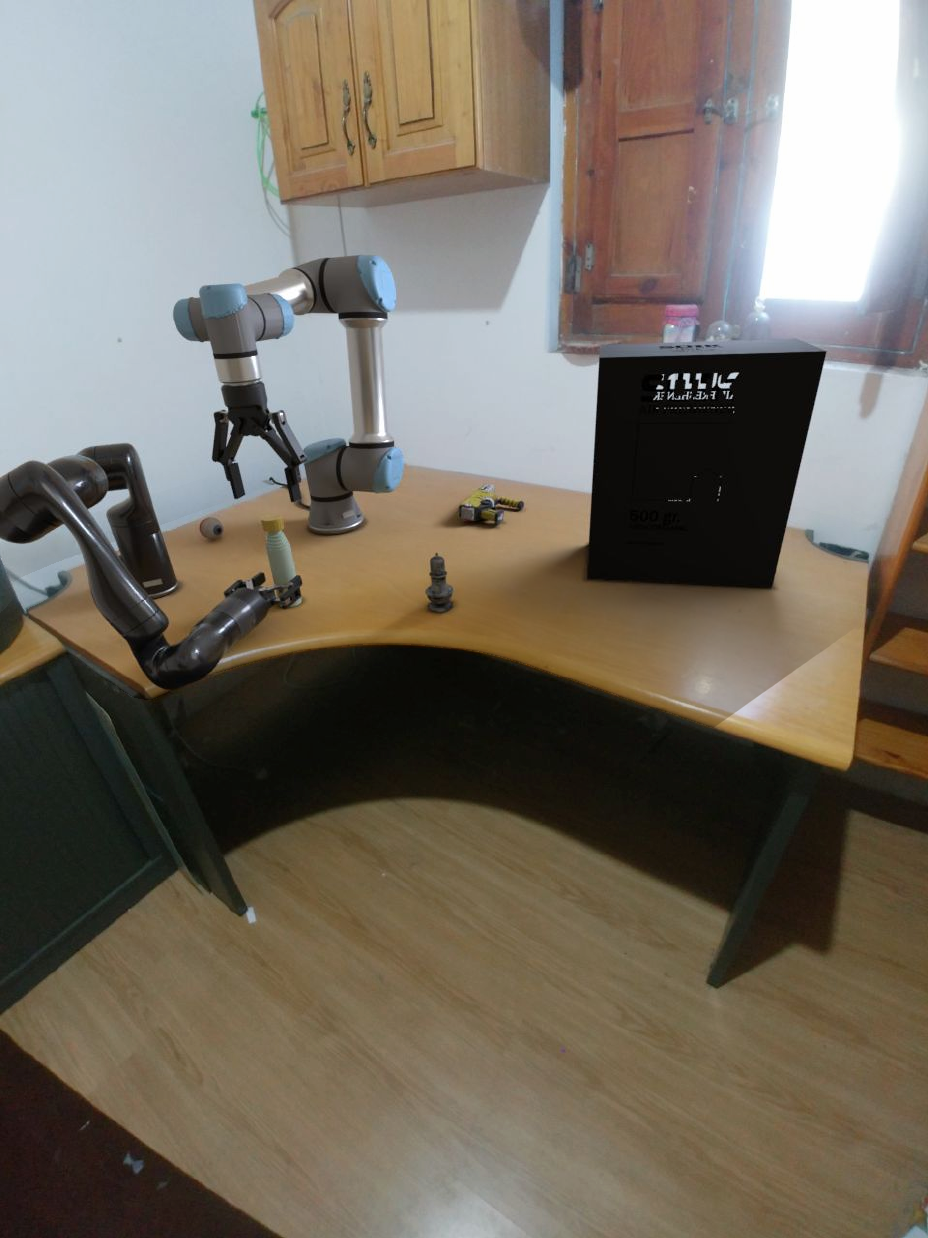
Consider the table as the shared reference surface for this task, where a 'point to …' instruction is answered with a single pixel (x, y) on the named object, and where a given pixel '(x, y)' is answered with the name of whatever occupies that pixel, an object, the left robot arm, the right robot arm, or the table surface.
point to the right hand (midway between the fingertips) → (267, 498)
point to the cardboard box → (698, 459)
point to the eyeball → (211, 528)
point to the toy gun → (486, 505)
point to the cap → (272, 523)
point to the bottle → (280, 560)
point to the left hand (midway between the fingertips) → (281, 577)
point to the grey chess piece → (439, 586)
